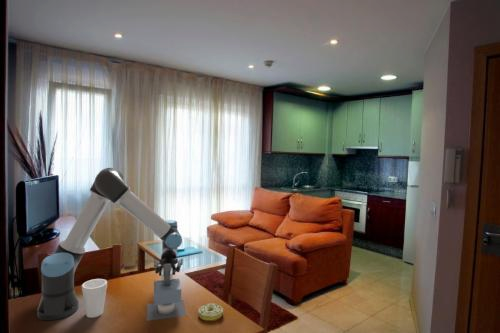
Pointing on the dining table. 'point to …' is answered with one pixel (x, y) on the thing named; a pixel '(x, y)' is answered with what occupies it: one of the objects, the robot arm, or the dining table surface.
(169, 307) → the bowl
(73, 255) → the robot arm
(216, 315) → the decorated donut
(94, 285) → the foam cup
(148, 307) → the mat
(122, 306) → the dining table surface
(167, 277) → the cover
